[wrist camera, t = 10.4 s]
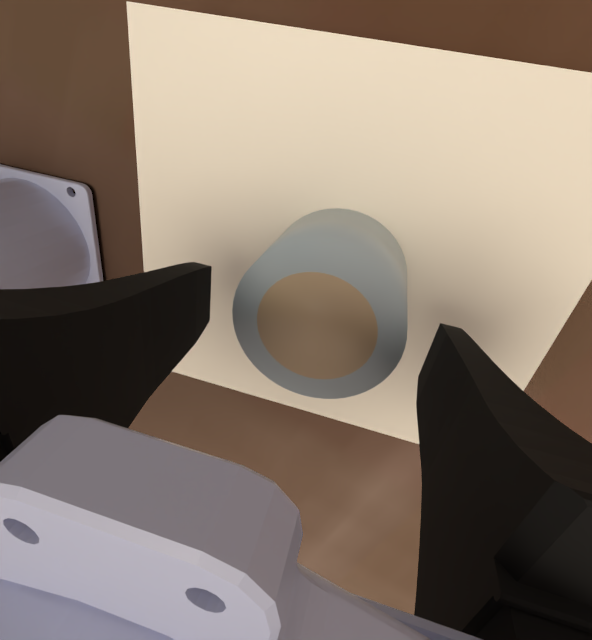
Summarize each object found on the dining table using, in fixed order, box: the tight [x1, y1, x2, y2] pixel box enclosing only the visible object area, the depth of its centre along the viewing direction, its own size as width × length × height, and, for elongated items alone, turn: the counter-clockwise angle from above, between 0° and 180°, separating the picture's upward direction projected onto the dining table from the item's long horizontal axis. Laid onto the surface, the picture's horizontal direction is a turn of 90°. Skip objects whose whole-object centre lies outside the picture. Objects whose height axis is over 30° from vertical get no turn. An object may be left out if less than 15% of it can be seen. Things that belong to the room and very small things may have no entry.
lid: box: [127, 2, 592, 444], centre depth 15 cm, size 16×14×1 cm
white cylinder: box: [232, 208, 408, 399], centre depth 13 cm, size 5×5×4 cm
